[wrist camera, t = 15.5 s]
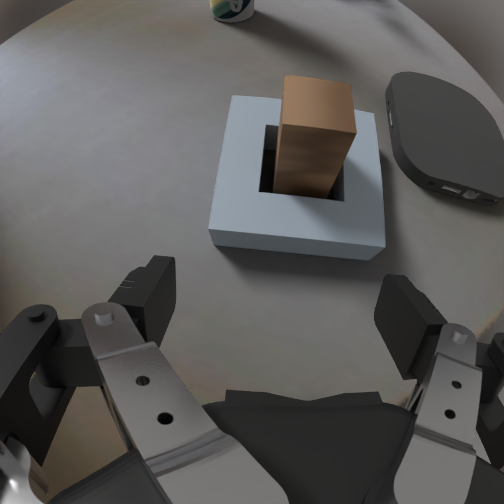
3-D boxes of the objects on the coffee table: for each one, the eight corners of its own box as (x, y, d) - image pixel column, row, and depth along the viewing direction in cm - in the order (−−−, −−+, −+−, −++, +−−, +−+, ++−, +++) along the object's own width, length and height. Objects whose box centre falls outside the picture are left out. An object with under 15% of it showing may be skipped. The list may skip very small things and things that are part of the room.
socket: (214, 245, 24) (208, 228, 21) (234, 121, 28) (232, 95, 24) (368, 260, 24) (385, 247, 20) (362, 136, 27) (373, 113, 24)
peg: (271, 203, 25) (282, 123, 16) (274, 161, 26) (284, 74, 17) (321, 208, 25) (356, 133, 15) (321, 166, 26) (350, 83, 17)
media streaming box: (479, 112, 30) (490, 98, 27) (505, 214, 26) (521, 203, 23) (380, 77, 30) (387, 59, 28) (392, 183, 26) (405, 167, 23)
